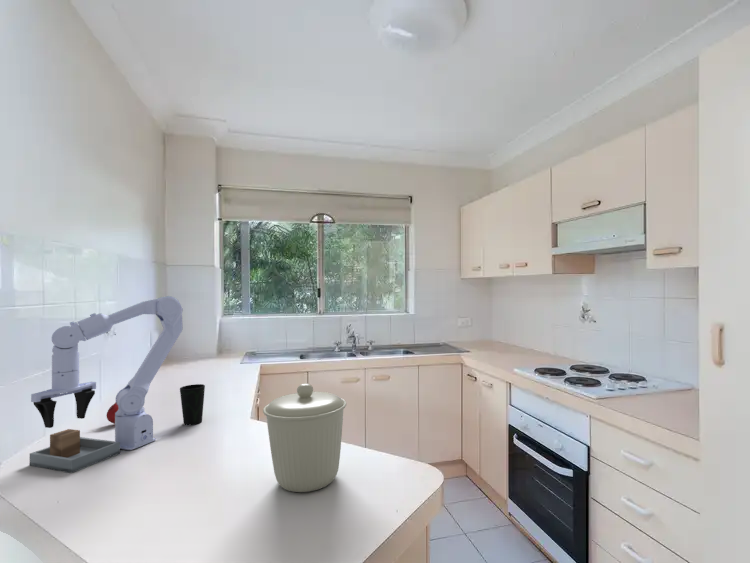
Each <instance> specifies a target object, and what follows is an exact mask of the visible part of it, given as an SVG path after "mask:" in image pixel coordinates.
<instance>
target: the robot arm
mask: <svg viewBox="0 0 750 563" xmlns="http://www.w3.org/2000/svg"><path fill="white" fill-rule="evenodd" d="M183 311H184V310H183V306H182V304H181V303H180V301H179V299H177V298H176V297H175V296H170V295H168V296H160V297H158V298H153V299H148V300H145V301H141V302H139V303H136V304H133V305H132V306H131V305H129V306H128V307H125V308H123V309H120V310H118V311H116V312H113V313H111V314H105V313H102V312H101V313H100V312H99V313H97V314H96V313H95V312H94V313H91V314H89V316H88V317H86V318H84V319H79V320H78V321H75V320H74V321H70V322H69V325H64V326H61V327H58V328H57V329H56V330H55V331H54V332H53V333H52V335H51V342H52V344H53V347H52V348H51V349H52V351H51V352H52V355H51V388H50V389H46V390H42V391H39V392H35V393H31V394H30V396H31V397H30V402H31V403H33V405H34V407H35V408H36V410H37V411H38V412H39V414H40V416H41V418H42V421H43V425H44V427H45V428H49V429H50V428H51V429H52V428H54V424H55V409H56V406H57V400H53V399H54V398H58V397H62V396H67V395H72V394H73V395H74V398H75V406H76V418H77V419H85V417H86V414H87V411H88V408H89V405H90V403H91V401H92V399H93V397H94V396H95V394H96V391H95V390H96V389H97V382H96V381H89V382H83V383H80V352H79V342H81V341H83V342H86V341H89V340H91V339H94V338H96V337H98V336H101V335H103V334H104V335H105V334H106V333H109V332H110V331H111V329H112V328H113V326H114V325H117V324H119V323H122V322H125V321H128V320H131V319H134V318H136V317H139V316H142V315H155V316H156V317H157V318H158V319H159V320H160V324H161V326H162V331H161V332H160V334H159V336H158V337H157V339H156V341H155V342H154V344H153V345H152V347H151V348H150V350H149V351H148V354H147V355H146V357H145V358H144V360H143V362H141V364H140V366H139V368H138V370H137V371H136V372H135V374H134V376H133V377H132V378H131V379H130V380H129V381H128V383H127V384H126V386H124V387H123V388H122V389H119V391H118V392H117V394H116V396H115V402H116V403H117V405H118V407H119V409H118V411H117V412H116V413H115V424H114V441H115V442H120V449H121V450H126V451H132V450H135V449H138V448H140V447H142V446H146V445H148V444H150V443H152V442H155V441H156V438H155V437H154V421H153V417H152V415H150V414H149V413H147V412H146V411H145V410H146V409H145V407H144V405H145V401H146V400H145V398H146V396H147V394H148V393H149V388H150V385H151V383H152V382H153V380H154V378H155V376H156V375H157V374H158V372H159V371H160V368H161V367H162V365H163V363H164V362H165V360H166V358H167V357H168V355H169V353H170V352H171V350H172V348H173V346H174V345H175V343H176V342H177V340H178V338H179V337H180V335H181V333H182V332H183Z"/></svg>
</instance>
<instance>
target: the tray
mask: <svg viewBox="0 0 750 563" xmlns="http://www.w3.org/2000/svg"><path fill="white" fill-rule="evenodd" d="M120 453H121V452H120V442H115V440H114V441H113V440H106V439H98V438H89V437H83V436H80V453H79V454H76V455H73V456H70V457H68V458H65V457H59V456H53V455H50V446H48V447H45V448H43V449H39V450H37V451H33V452H30V453H29V466H30V467H35V468H36V467H37V468H41V469H47V470H53V471H58V472H64V473H68V474H72V473H75V472H77V471H79V470H82V469H84V468H87V467H89V466H90V467H91V466H93V465H94V464H97V463H100V462H102V461H105V460H107V459H110V458H112V457H114V456H117V455H119V454H120Z"/></svg>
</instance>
